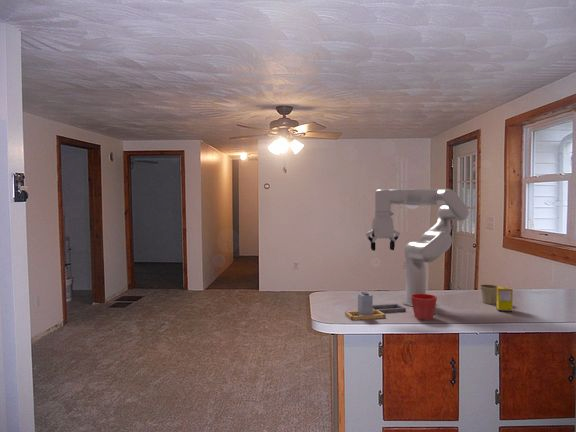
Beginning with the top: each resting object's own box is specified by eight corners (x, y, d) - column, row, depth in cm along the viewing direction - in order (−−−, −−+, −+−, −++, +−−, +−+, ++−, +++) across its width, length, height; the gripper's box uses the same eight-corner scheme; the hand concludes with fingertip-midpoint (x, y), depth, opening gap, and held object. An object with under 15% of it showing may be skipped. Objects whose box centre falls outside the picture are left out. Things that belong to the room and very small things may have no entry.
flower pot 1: (407, 314, 183) (407, 293, 182) (430, 314, 183) (430, 293, 183) (416, 321, 172) (416, 299, 172) (440, 320, 173) (441, 298, 173)
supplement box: (509, 309, 191) (510, 286, 191) (512, 312, 186) (512, 289, 185) (496, 308, 193) (496, 286, 193) (498, 311, 188) (498, 288, 187)
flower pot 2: (479, 304, 201) (480, 287, 201) (478, 300, 210) (478, 283, 210) (500, 306, 198) (501, 288, 197) (498, 301, 206) (498, 285, 206)
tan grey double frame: (397, 306, 196) (397, 303, 196) (414, 316, 180) (414, 312, 180) (339, 310, 190) (339, 307, 190) (351, 320, 174) (351, 316, 174)
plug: (368, 314, 183) (368, 291, 182) (372, 317, 178) (372, 293, 177) (357, 315, 182) (357, 291, 181) (361, 318, 177) (362, 294, 176)
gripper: (395, 214, 198) (395, 248, 199) (363, 214, 195) (363, 249, 195) (403, 215, 191) (402, 250, 191) (369, 215, 187) (369, 251, 188)
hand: (382, 250), depth 193 cm, fingers open, 9 cm apart
